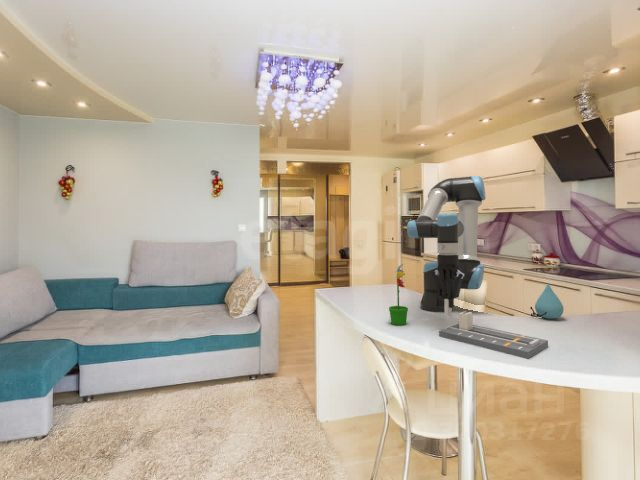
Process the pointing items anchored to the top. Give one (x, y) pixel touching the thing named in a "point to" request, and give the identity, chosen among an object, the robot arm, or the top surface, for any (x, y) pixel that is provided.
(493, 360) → the top surface
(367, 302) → the top surface
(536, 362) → the top surface
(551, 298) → the toy
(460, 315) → the fader tab
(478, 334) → the console
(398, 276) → the potted flower
